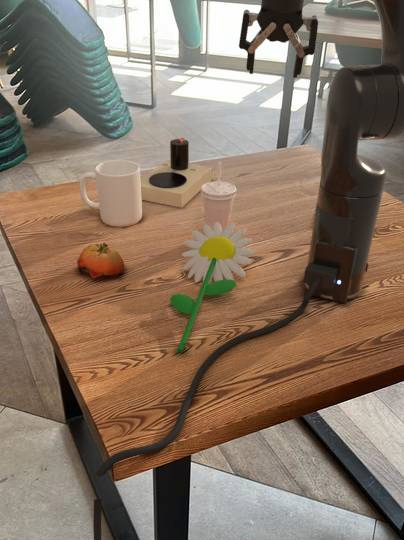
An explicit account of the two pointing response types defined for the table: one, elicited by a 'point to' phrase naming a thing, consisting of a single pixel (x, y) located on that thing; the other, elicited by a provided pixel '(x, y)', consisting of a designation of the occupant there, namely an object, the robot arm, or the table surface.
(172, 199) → the hob
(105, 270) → the tomato
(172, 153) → the stove knob
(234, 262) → the decorative flower
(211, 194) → the smoothie
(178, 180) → the burner ring
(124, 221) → the cup
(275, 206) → the table surface
